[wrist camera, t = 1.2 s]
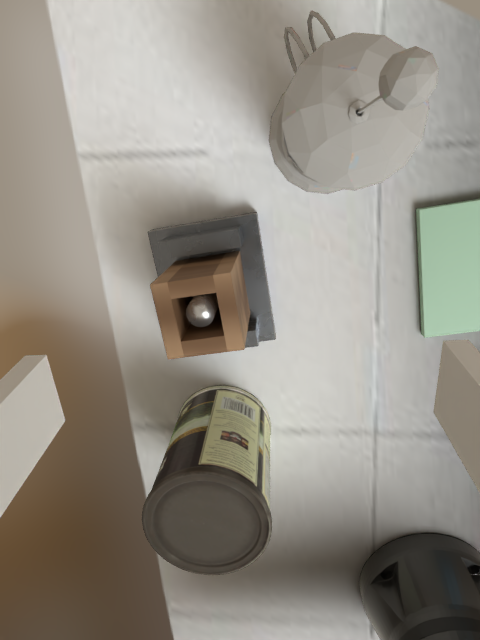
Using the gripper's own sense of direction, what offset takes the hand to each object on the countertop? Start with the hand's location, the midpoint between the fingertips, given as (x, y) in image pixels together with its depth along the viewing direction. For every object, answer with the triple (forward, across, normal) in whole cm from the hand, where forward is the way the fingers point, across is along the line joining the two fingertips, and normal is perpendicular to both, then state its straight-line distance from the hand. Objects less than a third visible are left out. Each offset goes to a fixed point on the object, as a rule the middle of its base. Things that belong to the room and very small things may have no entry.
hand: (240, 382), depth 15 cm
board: (+27, -20, +6) cm, 34 cm away
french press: (+29, -6, -7) cm, 30 cm away
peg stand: (+27, +4, +6) cm, 28 cm away
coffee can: (+26, +5, +22) cm, 35 cm away
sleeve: (+26, +4, +6) cm, 27 cm away
